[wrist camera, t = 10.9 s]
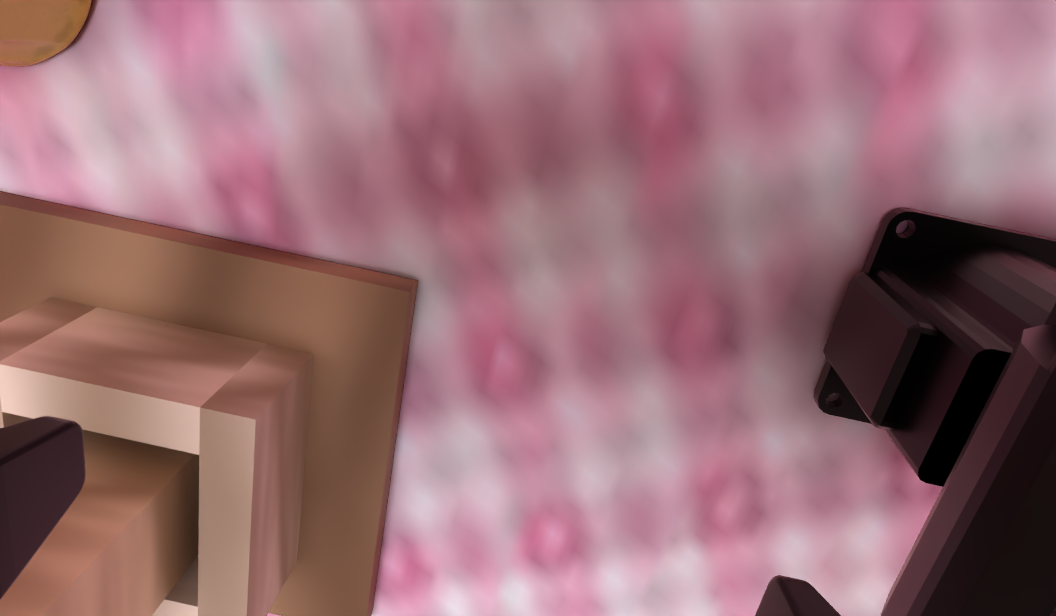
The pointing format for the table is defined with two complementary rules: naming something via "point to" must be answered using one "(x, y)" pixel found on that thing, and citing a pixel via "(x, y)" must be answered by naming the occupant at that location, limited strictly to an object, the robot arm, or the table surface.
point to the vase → (38, 28)
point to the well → (219, 390)
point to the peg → (116, 535)
